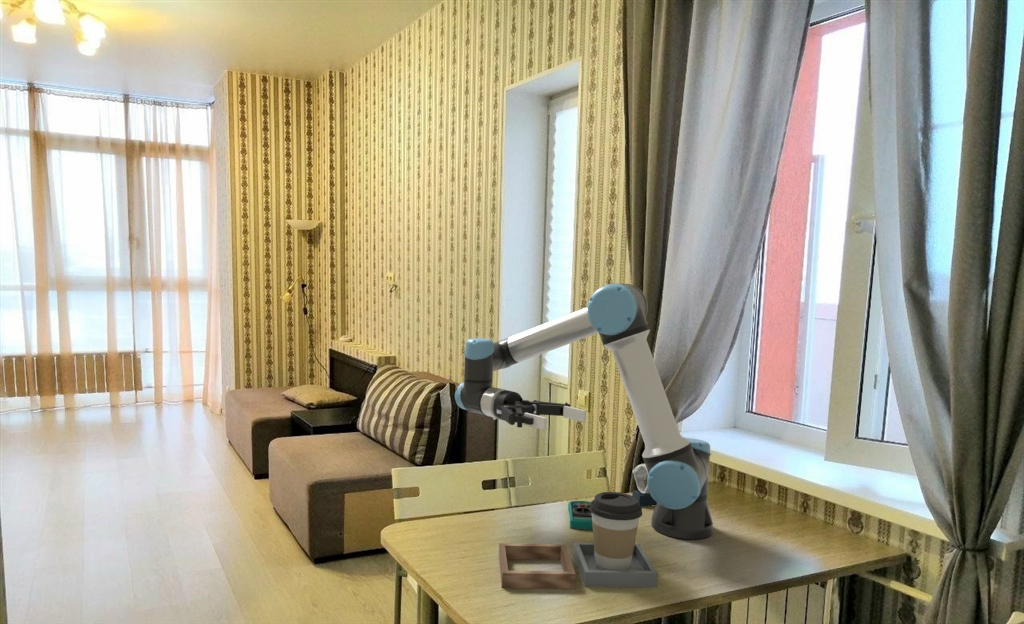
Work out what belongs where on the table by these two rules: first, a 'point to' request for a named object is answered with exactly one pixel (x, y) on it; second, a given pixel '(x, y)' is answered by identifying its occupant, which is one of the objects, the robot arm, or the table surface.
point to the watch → (642, 487)
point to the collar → (536, 577)
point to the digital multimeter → (580, 515)
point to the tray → (636, 576)
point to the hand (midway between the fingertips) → (565, 420)
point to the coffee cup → (614, 529)
